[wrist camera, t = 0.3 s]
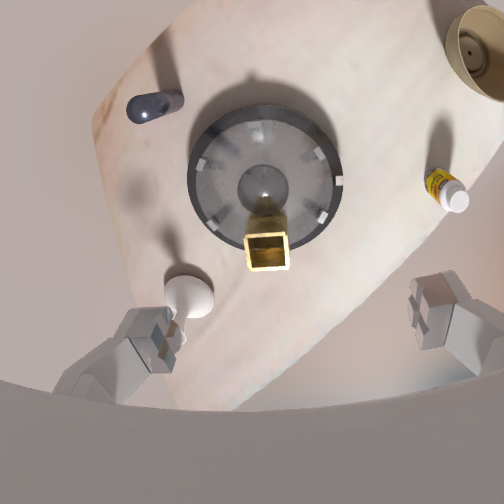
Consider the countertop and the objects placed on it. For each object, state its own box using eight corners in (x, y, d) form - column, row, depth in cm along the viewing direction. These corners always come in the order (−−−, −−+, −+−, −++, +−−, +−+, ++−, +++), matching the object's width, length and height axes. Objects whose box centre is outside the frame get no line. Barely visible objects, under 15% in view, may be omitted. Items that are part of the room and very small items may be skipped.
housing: (181, 116, 51) (172, 119, 47) (334, 99, 47) (339, 100, 43) (207, 247, 64) (202, 258, 60) (340, 238, 60) (344, 250, 56)
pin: (160, 92, 49) (124, 99, 37) (182, 87, 48) (150, 92, 36) (164, 113, 51) (129, 126, 39) (185, 109, 50) (155, 120, 38)
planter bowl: (480, 112, 43) (513, 122, 34) (415, 60, 41) (442, 59, 32) (507, 50, 35) (541, 52, 26) (445, -4, 33) (475, -15, 24)
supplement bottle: (430, 162, 50) (455, 179, 41) (452, 173, 50) (478, 193, 42) (418, 188, 53) (440, 210, 44) (440, 199, 53) (463, 222, 44)
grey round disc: (187, 128, 48) (172, 137, 42) (327, 113, 45) (334, 119, 38) (211, 251, 59) (202, 273, 53) (333, 243, 56) (338, 266, 49)
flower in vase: (214, 273, 67) (183, 365, 45) (217, 314, 73) (193, 405, 51) (156, 268, 68) (108, 352, 46) (163, 308, 74) (126, 392, 52)
